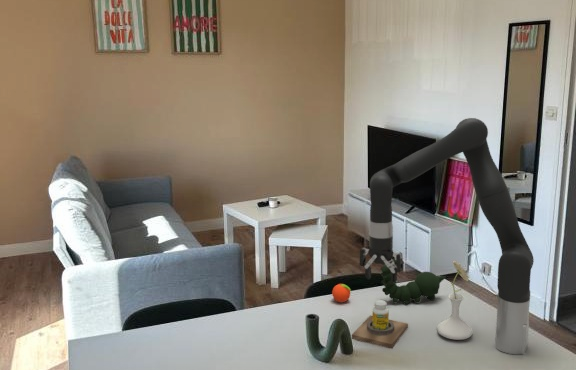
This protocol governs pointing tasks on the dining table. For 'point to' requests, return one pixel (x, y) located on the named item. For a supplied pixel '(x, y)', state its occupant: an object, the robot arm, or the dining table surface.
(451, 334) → the flower in vase
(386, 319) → the supplement bottle
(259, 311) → the dining table surface
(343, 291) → the clementine
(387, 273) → the toy figurine
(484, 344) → the dining table surface
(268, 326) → the dining table surface
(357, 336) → the collar board
